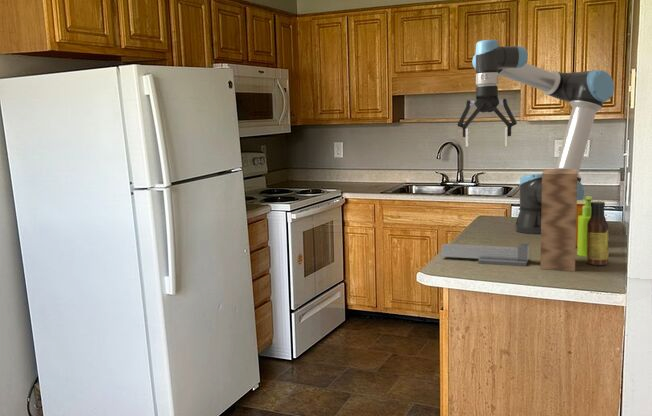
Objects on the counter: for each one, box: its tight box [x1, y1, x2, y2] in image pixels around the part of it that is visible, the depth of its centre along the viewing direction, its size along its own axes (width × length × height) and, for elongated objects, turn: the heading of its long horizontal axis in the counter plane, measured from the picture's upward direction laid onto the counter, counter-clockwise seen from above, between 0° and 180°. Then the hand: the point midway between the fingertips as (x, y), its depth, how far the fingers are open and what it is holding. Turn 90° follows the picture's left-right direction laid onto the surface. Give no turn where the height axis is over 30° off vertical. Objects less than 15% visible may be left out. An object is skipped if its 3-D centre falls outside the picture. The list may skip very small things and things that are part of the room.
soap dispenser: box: [576, 195, 593, 258], centre depth 202 cm, size 6×7×20 cm
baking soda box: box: [576, 199, 594, 248], centre depth 218 cm, size 10×6×16 cm
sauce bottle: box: [586, 200, 610, 266], centre depth 191 cm, size 6×6×20 cm
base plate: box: [477, 258, 528, 267], centre depth 200 cm, size 15×9×1 cm, turn 67°
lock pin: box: [440, 242, 530, 263], centre depth 202 cm, size 28×5×5 cm, turn 67°
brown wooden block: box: [539, 168, 578, 272], centre depth 192 cm, size 10×14×30 cm
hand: (486, 146), depth 216 cm, fingers open, 13 cm apart
